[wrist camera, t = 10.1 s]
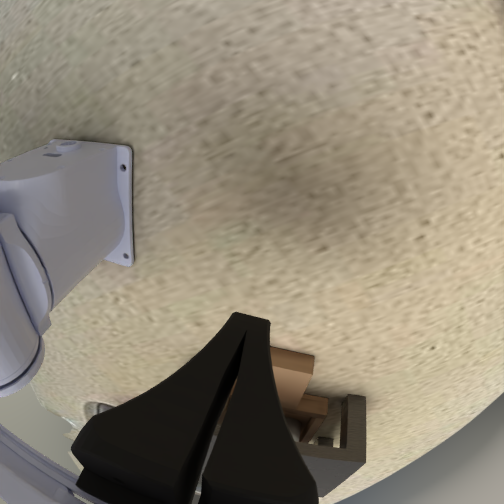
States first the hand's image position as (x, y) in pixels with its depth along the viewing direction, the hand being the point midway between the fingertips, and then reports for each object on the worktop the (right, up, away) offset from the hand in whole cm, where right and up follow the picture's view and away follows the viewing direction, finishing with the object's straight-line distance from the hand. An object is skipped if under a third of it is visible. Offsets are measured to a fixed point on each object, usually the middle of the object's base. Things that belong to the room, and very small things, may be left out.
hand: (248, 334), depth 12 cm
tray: (+2, -11, +17) cm, 21 cm away
